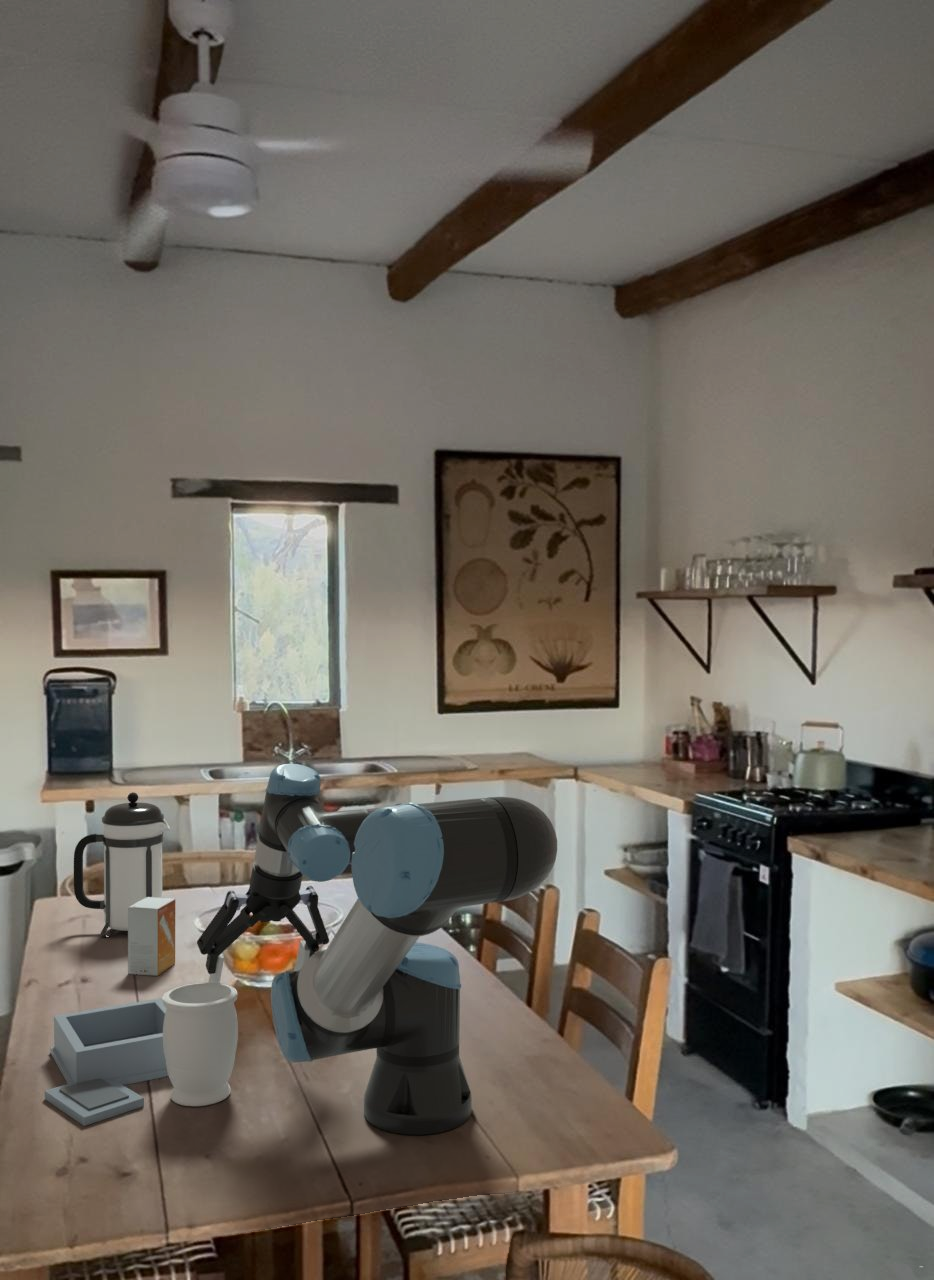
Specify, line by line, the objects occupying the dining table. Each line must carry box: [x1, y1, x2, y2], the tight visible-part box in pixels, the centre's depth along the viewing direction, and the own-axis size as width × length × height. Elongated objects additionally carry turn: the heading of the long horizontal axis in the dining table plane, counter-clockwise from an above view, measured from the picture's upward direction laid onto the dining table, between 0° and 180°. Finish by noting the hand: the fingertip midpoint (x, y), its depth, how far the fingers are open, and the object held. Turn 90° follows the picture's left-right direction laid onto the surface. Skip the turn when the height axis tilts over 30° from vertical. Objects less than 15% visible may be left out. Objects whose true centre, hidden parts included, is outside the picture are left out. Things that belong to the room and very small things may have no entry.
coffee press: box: [73, 792, 171, 938], centre depth 252 cm, size 17×16×30 cm
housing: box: [49, 997, 169, 1086], centre depth 182 cm, size 18×18×6 cm
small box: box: [127, 897, 177, 977], centre depth 227 cm, size 8×6×13 cm
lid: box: [44, 1078, 145, 1127], centre depth 167 cm, size 12×9×2 cm
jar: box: [162, 982, 239, 1107], centre depth 169 cm, size 11×10×15 cm
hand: (256, 985), depth 180 cm, fingers open, 13 cm apart
